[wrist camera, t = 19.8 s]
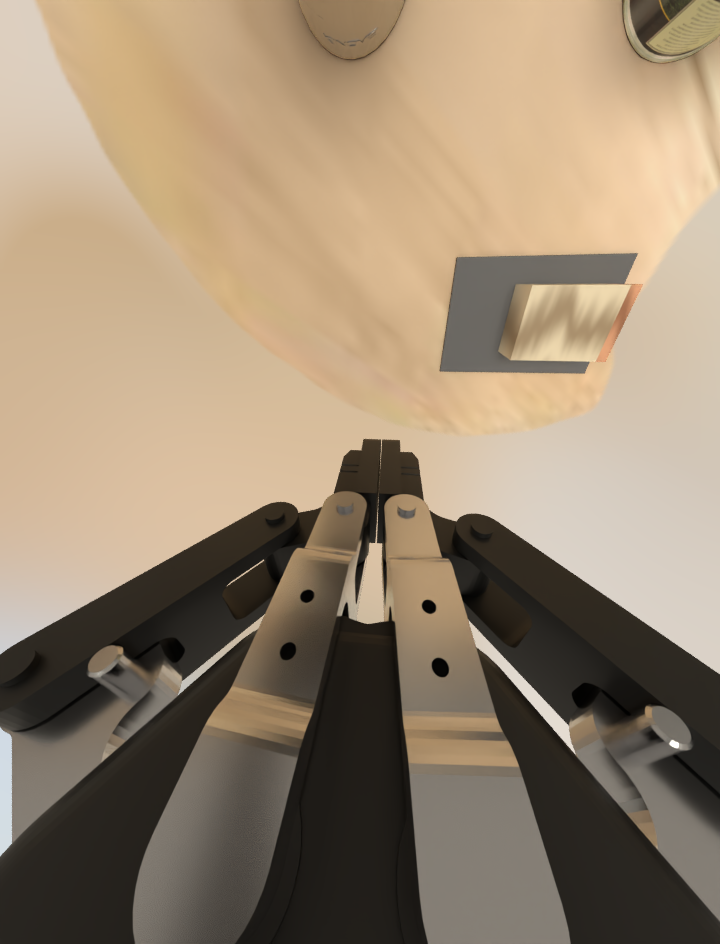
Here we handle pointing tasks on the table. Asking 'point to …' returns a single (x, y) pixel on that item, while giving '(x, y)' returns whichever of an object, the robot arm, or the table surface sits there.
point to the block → (566, 321)
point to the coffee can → (671, 27)
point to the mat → (489, 297)
